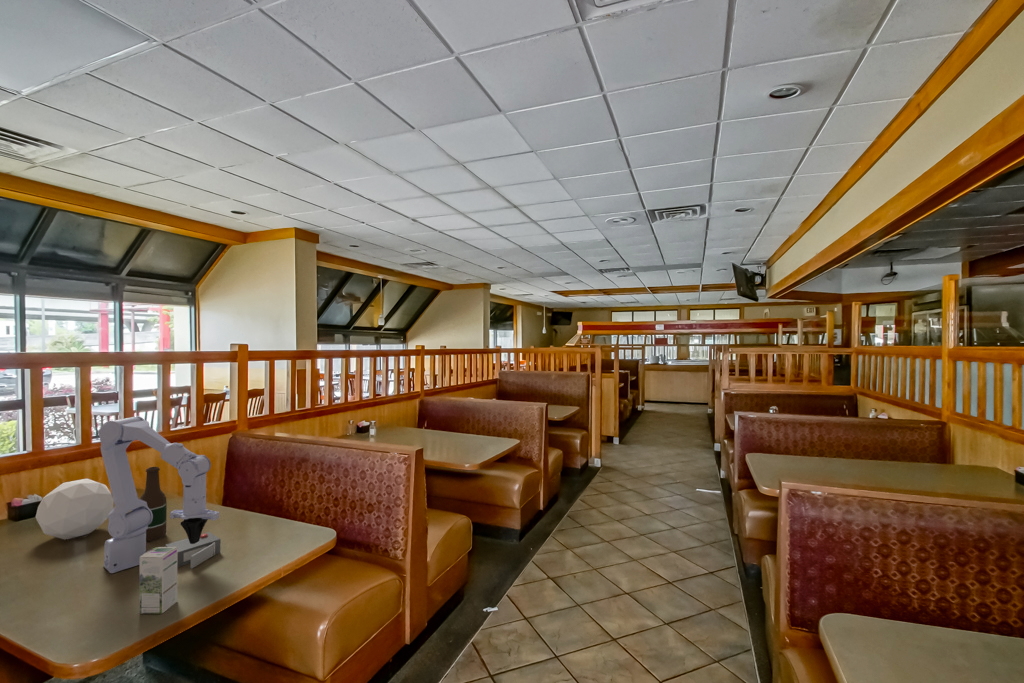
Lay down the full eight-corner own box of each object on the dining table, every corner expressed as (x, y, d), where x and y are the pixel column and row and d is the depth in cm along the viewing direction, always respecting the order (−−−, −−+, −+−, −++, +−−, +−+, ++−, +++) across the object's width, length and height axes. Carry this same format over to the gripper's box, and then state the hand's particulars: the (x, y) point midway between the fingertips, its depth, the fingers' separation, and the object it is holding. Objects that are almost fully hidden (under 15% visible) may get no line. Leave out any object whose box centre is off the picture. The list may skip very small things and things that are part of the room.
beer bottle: (172, 533, 159) (172, 465, 159) (152, 542, 151) (153, 471, 151) (151, 532, 159) (152, 464, 160) (131, 541, 152) (131, 470, 152)
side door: (192, 568, 133) (192, 555, 133) (190, 568, 133) (190, 555, 133) (215, 554, 142) (215, 542, 142) (213, 554, 142) (213, 542, 142)
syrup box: (178, 601, 117) (179, 545, 117) (161, 614, 111) (162, 556, 111) (156, 601, 117) (156, 545, 117) (137, 615, 111) (138, 556, 111)
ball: (62, 554, 157) (52, 501, 163) (130, 524, 165) (118, 475, 172) (24, 548, 141) (15, 490, 147) (102, 515, 149) (91, 462, 156)
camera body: (170, 569, 133) (171, 552, 133) (160, 560, 139) (160, 544, 139) (220, 553, 144) (220, 537, 144) (208, 545, 149) (208, 530, 149)
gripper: (161, 501, 133) (161, 547, 133) (206, 503, 131) (206, 549, 131) (181, 493, 140) (181, 537, 140) (224, 494, 139) (224, 539, 138)
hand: (194, 542), depth 136 cm, fingers closed
